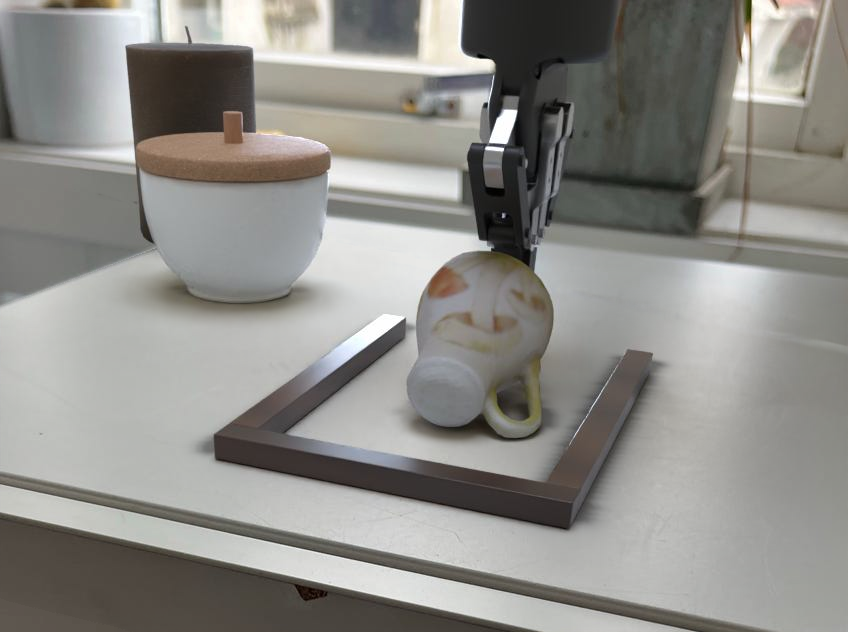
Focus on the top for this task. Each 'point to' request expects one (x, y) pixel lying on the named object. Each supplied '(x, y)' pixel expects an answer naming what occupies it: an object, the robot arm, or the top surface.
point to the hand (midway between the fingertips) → (507, 315)
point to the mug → (480, 341)
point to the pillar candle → (187, 91)
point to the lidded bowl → (235, 208)
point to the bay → (468, 488)
